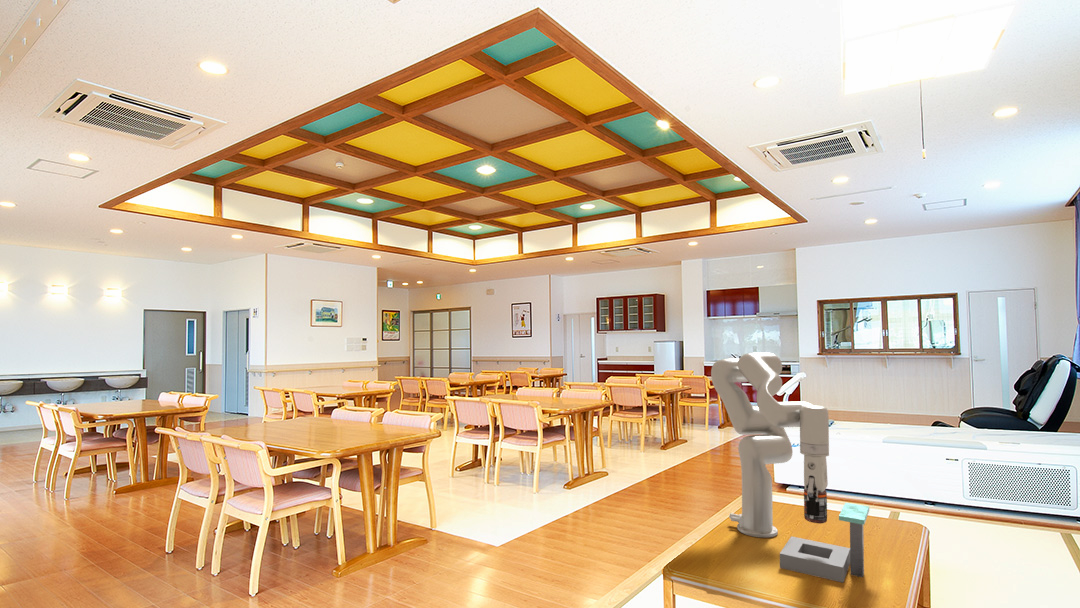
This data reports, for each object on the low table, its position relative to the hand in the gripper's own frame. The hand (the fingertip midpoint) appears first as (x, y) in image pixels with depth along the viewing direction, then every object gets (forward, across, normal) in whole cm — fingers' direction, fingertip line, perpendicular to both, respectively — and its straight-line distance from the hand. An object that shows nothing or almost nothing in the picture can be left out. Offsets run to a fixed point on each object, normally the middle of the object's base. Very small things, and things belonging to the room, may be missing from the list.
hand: (815, 511), depth 164 cm
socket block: (+15, 0, 0) cm, 15 cm away
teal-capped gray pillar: (+15, 0, -10) cm, 18 cm away
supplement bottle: (+3, 0, 0) cm, 3 cm away
